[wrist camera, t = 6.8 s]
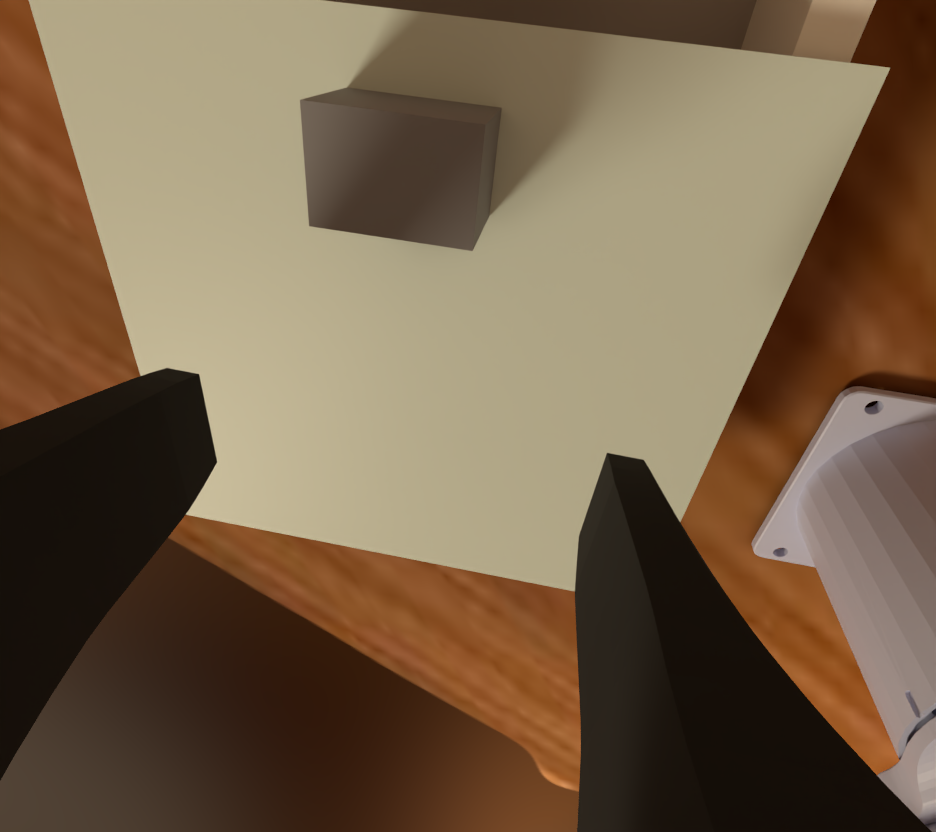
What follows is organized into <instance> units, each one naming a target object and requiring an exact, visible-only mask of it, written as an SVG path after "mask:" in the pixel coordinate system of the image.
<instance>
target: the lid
mask: <svg viewBox="0 0 936 832" xmlns="http://www.w3.org/2000/svg"><path fill="white" fill-rule="evenodd" d="M29 3H30V6H31V10H32V13H33V16H34V20H35V23H36V26H37V30H38V33H39V36H40V40H41V43H42V47H43V50H44V53H45V57H46V60H47V63H48V67H49V70H50V73H51V77H52V80H53V83H54V87H55V90H56V94H57V97H58V100H59V104H60V107H61V110H62V114H63V117H64V120H65V124H66V127H67V130H68V134H69V137H70V140H71V144H72V147H73V151H74V154H75V157H76V161H77V164H78V167H79V171H80V174H81V177H82V181H83V184H84V187H85V191H86V194H87V198H88V201H89V204H90V208H91V211H92V214H93V218H94V221H95V224H96V228H97V231H98V234H99V238H100V241H101V245H102V248H103V251H104V255H105V258H106V261H107V265H108V268H109V271H110V275H111V278H112V281H113V285H114V288H115V292H116V295H117V298H118V302H119V305H120V308H121V312H122V315H123V318H124V322H125V325H126V328H127V332H128V335H129V338H130V342H131V345H132V349H133V352H134V355H135V359H136V362H137V365H138V369H139V372H140V375H141V376H143V375H145V374H148V373H151V372H155V371H158V370H161V369H165V368H170V369H175V370H181V371H186V372H191V373H196V374H199V376H200V381H201V386H202V390H203V395H204V400H205V405H206V410H207V415H208V420H209V424H210V429H211V434H212V439H213V444H214V449H215V453H216V458H217V464H216V465H215V467H214V469H213V471H212V472H211V474H210V476H209V478H208V480H207V481H206V483H205V485H204V487H203V488H202V490H201V492H200V493H199V495H198V496H197V498H196V500H195V501H194V503H193V505H192V506H191V508H190V509H189V511H188V512H187V513H186V515H191V516H196V517H201V518H206V519H211V520H216V521H221V522H226V523H231V524H236V525H241V526H246V527H251V528H257V529H262V530H267V531H272V532H277V533H282V534H287V535H292V536H297V537H302V538H307V539H312V540H317V541H322V542H327V543H332V544H338V545H343V546H348V547H353V548H358V549H363V550H368V551H373V552H378V553H383V554H388V555H393V556H398V557H403V558H408V559H413V560H418V561H424V562H429V563H434V564H439V565H444V566H449V567H454V568H459V569H464V570H469V571H474V572H479V573H484V574H489V575H494V576H499V577H504V578H510V579H515V580H520V581H525V582H530V583H535V584H540V585H545V586H550V587H555V588H560V589H565V590H570V591H575V581H576V566H577V553H578V541H579V534H580V531H581V528H582V525H583V522H584V519H585V516H586V513H587V510H588V508H589V505H590V502H591V499H592V496H593V493H594V490H595V487H596V484H597V481H598V478H599V475H600V472H601V469H602V466H603V463H604V460H605V457H606V454H607V453H611V454H616V455H621V456H627V457H632V458H637V459H642V460H644V461H645V463H646V464H647V466H648V467H649V469H650V471H651V472H652V474H653V476H654V478H655V480H656V481H657V483H658V485H659V487H660V488H661V490H662V492H663V494H664V495H665V497H666V499H667V501H668V502H669V504H670V506H671V508H672V509H673V511H674V513H675V514H676V516H677V518H678V520H679V521H680V522H681V519H682V517H683V515H684V513H685V511H686V509H687V506H688V504H689V502H690V500H691V498H692V496H693V493H694V491H695V489H696V487H697V485H698V483H699V480H700V478H701V476H702V474H703V472H704V470H705V468H706V465H707V463H708V461H709V459H710V457H711V455H712V452H713V450H714V448H715V446H716V444H717V442H718V439H719V437H720V435H721V433H722V431H723V429H724V426H725V424H726V422H727V420H728V418H729V416H730V414H731V411H732V409H733V407H734V405H735V403H736V401H737V398H738V396H739V394H740V392H741V390H742V388H743V385H744V383H745V381H746V379H747V377H748V375H749V372H750V370H751V368H752V366H753V364H754V362H755V359H756V357H757V355H758V353H759V351H760V349H761V347H762V344H763V342H764V340H765V338H766V336H767V334H768V331H769V329H770V327H771V325H772V323H773V321H774V318H775V316H776V314H777V312H778V310H779V308H780V305H781V303H782V301H783V299H784V297H785V295H786V293H787V290H788V288H789V286H790V284H791V282H792V280H793V277H794V275H795V273H796V271H797V269H798V267H799V264H800V262H801V260H802V258H803V256H804V254H805V251H806V249H807V247H808V245H809V243H810V241H811V239H812V236H813V234H814V232H815V230H816V228H817V226H818V223H819V221H820V219H821V217H822V215H823V213H824V210H825V208H826V206H827V204H828V202H829V200H830V197H831V195H832V193H833V191H834V189H835V187H836V184H837V182H838V180H839V178H840V176H841V174H842V172H843V169H844V167H845V165H846V163H847V161H848V159H849V156H850V154H851V152H852V150H853V148H854V146H855V143H856V141H857V139H858V137H859V135H860V133H861V130H862V128H863V126H864V124H865V122H866V120H867V118H868V115H869V113H870V111H871V109H872V107H873V105H874V102H875V100H876V98H877V96H878V94H879V92H880V89H881V87H882V85H883V83H884V81H885V79H886V76H887V74H888V72H889V70H890V68H889V67H881V66H874V65H865V64H857V63H848V62H840V61H831V60H823V59H815V58H806V57H798V56H789V55H781V54H772V53H764V52H756V51H747V50H739V49H730V48H722V47H714V46H705V45H697V44H688V43H680V42H671V41H663V40H655V39H646V38H638V37H629V36H621V35H612V34H604V33H596V32H587V31H579V30H570V29H562V28H553V27H545V26H537V25H528V24H520V23H511V22H503V21H495V20H486V19H478V18H469V17H461V16H452V15H444V14H436V13H427V12H419V11H410V10H402V9H393V8H385V7H377V6H368V5H360V4H351V3H343V2H334V1H326V0H29Z"/></svg>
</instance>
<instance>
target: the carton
mask: <svg viewBox="0 0 936 832" xmlns="http://www.w3.org/2000/svg"><path fill="white" fill-rule="evenodd" d="M326 1H334V2H343V3H351V4H360V5H368V6H377V7H385V8H393V9H402V10H410V11H419V12H427V13H436V14H444V15H452V16H461V17H469V18H478V19H486V20H495V21H503V22H511V23H520V24H528V25H537V26H545V27H553V28H562V29H570V30H579V31H587V32H596V33H604V34H612V35H621V36H629V37H638V38H646V39H655V40H663V41H671V42H680V43H688V44H697V45H705V46H714V47H722V48H730V49H739V50H747V51H756V52H764V53H772V54H781V55H789V56H798V57H806V58H815V59H823V60H831V61H840V62H848V63H850V62H851V59H852V57H853V54H854V52H855V50H856V47H857V45H858V43H859V40H860V38H861V36H862V33H863V31H864V29H865V26H866V24H867V21H868V19H869V17H870V14H871V12H872V10H873V7H874V5H875V3H876V0H326Z"/></svg>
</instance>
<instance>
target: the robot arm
mask: <svg viewBox="0 0 936 832" xmlns="http://www.w3.org/2000/svg"><path fill="white" fill-rule="evenodd" d="M872 401H878V402H877V403H876V404H875V405H874V406H872V407H869V408H865V406H866V405H867V404H868V403H870V402H872ZM216 464H217V458H216V453H215V449H214V444H213V439H212V434H211V429H210V424H209V420H208V415H207V410H206V405H205V400H204V395H203V390H202V386H201V381H200V376H199V374H196V373H191V372H186V371H181V370H175V369H170V368H165V369H161V370H158V371H155V372H151V373H148V374H145V375H143V376H140V377H137V378H134V379H131V380H129V381H126V382H123V383H121V384H118V385H116V386H113V387H110V388H108V389H105V390H103V391H100V392H98V393H95V394H93V395H90V396H87V397H85V398H82V399H80V400H77V401H75V402H72V403H70V404H67V405H64V406H62V407H59V408H57V409H54V410H52V411H49V412H46V413H44V414H41V415H39V416H36V417H34V418H31V419H28V420H26V421H23V422H20V423H17V424H15V425H12V426H9V427H6V428H4V429H1V430H0V780H1V778H2V777H3V775H4V773H5V771H6V770H7V768H8V766H9V764H10V762H11V761H12V759H13V757H14V755H15V754H16V752H17V750H18V749H19V747H20V745H21V744H22V742H23V741H24V739H25V737H26V736H27V734H28V732H29V731H30V729H31V727H32V726H33V724H34V723H35V721H36V719H37V717H38V716H39V714H40V713H41V711H42V709H43V708H44V706H45V705H46V703H47V701H48V700H49V698H50V696H51V695H52V693H53V692H54V690H55V688H56V687H57V685H58V684H59V682H60V681H61V679H62V678H63V676H64V675H65V673H66V671H67V670H68V669H69V667H70V665H71V664H72V662H73V661H74V659H75V658H76V656H77V655H78V653H79V652H80V650H81V649H82V647H83V646H84V644H85V642H86V641H87V639H88V638H89V637H90V635H91V634H92V633H93V631H94V630H95V629H96V627H97V626H98V624H99V623H100V622H101V620H102V619H103V618H104V616H105V615H106V614H107V612H108V611H109V610H110V609H111V607H112V606H113V605H114V604H115V602H116V601H117V600H118V598H119V597H120V596H121V595H122V594H123V592H124V591H125V590H126V589H127V587H128V586H129V585H130V584H131V582H132V581H133V580H134V578H135V577H136V576H137V575H138V574H139V573H140V571H141V570H142V569H143V567H144V566H145V565H146V564H147V563H148V561H149V560H150V559H151V558H152V556H153V555H154V554H155V553H156V551H157V550H158V549H159V548H160V546H161V545H162V544H163V543H164V541H165V540H166V539H167V538H168V536H169V535H170V534H171V532H172V531H173V530H174V529H175V527H176V526H177V525H178V524H179V522H180V521H181V520H182V518H183V517H184V516H185V514H186V513H187V512H188V511H189V509H190V508H191V506H192V505H193V503H194V501H195V500H196V498H197V496H198V495H199V493H200V492H201V490H202V488H203V487H204V485H205V483H206V481H207V480H208V478H209V476H210V474H211V472H212V471H213V469H214V467H215V465H216ZM752 547H753V550H754V553H755V554H756V555H757V556H760V557H764V558H769V559H774V560H780V561H785V562H790V563H796V564H801V565H806V566H812V567H816V569H817V571H818V574H819V576H820V578H821V581H822V583H823V585H824V588H825V590H826V592H827V594H828V597H829V599H830V601H831V604H832V606H833V608H834V610H835V613H836V615H837V617H838V620H839V622H840V624H841V627H842V629H843V631H844V633H845V636H846V638H847V640H848V643H849V645H850V647H851V650H852V652H853V654H854V656H855V659H856V661H857V663H858V666H859V668H860V670H861V672H862V675H863V677H864V679H865V682H866V684H867V686H868V689H869V691H870V693H871V695H872V698H873V700H874V702H875V705H876V707H877V709H878V712H879V714H880V716H881V718H882V721H883V723H884V725H885V728H886V730H887V732H888V734H889V737H890V739H891V741H892V744H893V746H894V748H895V751H896V753H897V755H898V757H899V760H900V761H899V762H898V763H897V764H896V765H894V766H893V767H891V768H890V769H888V770H885V771H883V772H881V773H879V774H878V775H876V774H875V773H874V772H873V771H872V770H871V769H870V767H869V766H868V765H867V764H866V763H865V762H864V761H863V760H862V759H861V758H860V757H859V756H858V754H857V753H856V752H855V751H854V750H853V749H852V748H851V747H850V746H849V745H848V744H847V743H846V741H845V740H844V739H843V738H842V737H841V736H840V735H839V734H838V733H837V732H836V731H835V730H834V728H833V727H832V726H831V725H830V724H829V723H828V722H827V721H826V719H825V718H824V717H823V716H822V715H821V714H820V713H819V712H818V710H817V709H816V708H815V707H814V706H813V705H812V704H811V702H810V701H809V700H808V699H807V698H806V697H805V695H804V694H803V693H802V692H801V691H800V689H799V688H798V687H797V686H796V684H795V683H794V682H793V681H792V680H791V678H790V677H789V676H788V675H787V673H786V672H785V671H784V670H783V669H782V667H781V666H780V665H779V664H778V663H777V661H776V660H775V659H774V658H773V656H772V655H771V654H770V653H769V652H768V650H767V649H766V648H765V646H764V645H763V644H762V643H761V641H760V640H759V639H758V637H757V636H756V635H755V634H754V632H753V631H752V630H751V628H750V627H749V626H748V624H747V623H746V621H745V620H744V619H743V617H742V616H741V614H740V613H739V612H738V610H737V609H736V607H735V606H734V605H733V603H732V602H731V600H730V599H729V598H728V596H727V595H726V593H725V592H724V590H723V589H722V587H721V586H720V584H719V583H718V581H717V580H716V578H715V577H714V576H713V574H712V572H711V571H710V569H709V568H708V566H707V565H706V563H705V562H704V560H703V558H702V557H701V555H700V554H699V552H698V551H697V549H696V547H695V546H694V544H693V543H692V541H691V540H690V538H689V536H688V535H687V533H686V531H685V530H684V528H683V526H682V525H681V523H680V521H679V520H678V518H677V516H676V514H675V513H674V511H673V509H672V508H671V506H670V504H669V502H668V501H667V499H666V497H665V495H664V494H663V492H662V490H661V488H660V487H659V485H658V483H657V481H656V480H655V478H654V476H653V474H652V472H651V471H650V469H649V467H648V466H647V464H646V463H645V461H644V460H642V459H637V458H632V457H627V456H621V455H616V454H611V453H607V454H606V457H605V460H604V463H603V466H602V469H601V472H600V475H599V478H598V481H597V484H596V487H595V490H594V493H593V496H592V499H591V502H590V505H589V508H588V510H587V513H586V516H585V519H584V522H583V525H582V528H581V531H580V534H579V541H578V553H577V566H576V581H575V607H576V630H577V652H578V672H579V694H580V715H581V764H580V786H579V808H578V828H577V832H936V398H930V397H924V396H918V395H912V394H906V393H900V392H893V391H887V390H881V389H875V388H869V387H863V386H854V387H850V388H847V389H846V390H844V391H842V392H841V393H840V394H839V396H838V397H837V398H836V400H835V402H834V403H833V405H832V407H831V409H830V410H829V412H828V414H827V415H826V417H825V419H824V420H823V422H822V424H821V425H820V427H819V429H818V431H817V432H816V434H815V436H814V437H813V439H812V441H811V442H810V444H809V446H808V447H807V449H806V451H805V453H804V454H803V456H802V458H801V459H800V461H799V463H798V464H797V466H796V468H795V470H794V471H793V473H792V475H791V476H790V478H789V480H788V481H787V483H786V485H785V486H784V488H783V490H782V492H781V493H780V495H779V497H778V498H777V500H776V502H775V503H774V505H773V507H772V508H771V510H770V512H769V514H768V515H767V517H766V519H765V520H764V522H763V524H762V525H761V527H760V529H759V530H758V532H757V534H756V536H755V537H754V539H753V541H752ZM777 548H781V549H777Z"/></svg>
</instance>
